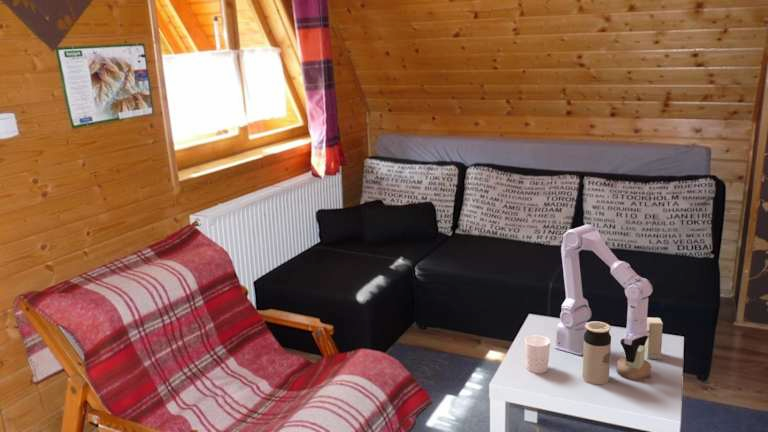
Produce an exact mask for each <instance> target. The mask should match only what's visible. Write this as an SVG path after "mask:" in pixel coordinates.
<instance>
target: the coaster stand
mask: <svg viewBox="0 0 768 432" xmlns="http://www.w3.org/2000/svg"><path fill="white" fill-rule="evenodd" d="M616 362H617V365H616V373H617V374H618V375H619V376H620V377H621V378H624V379H626V380H629V381H635V382H640V381H641V382H642V381H647V380H648V379H650V377H651V373H652V372H651V371H652V366H651V363H649V361H648V360H645V359H644V364H643V365H642V367H641V368H640V369H636V368H633V367H629V366H625V356H624V357H621V358H619V359H617V361H616Z"/></svg>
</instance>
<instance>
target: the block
mask: <svg viewBox="0 0 768 432" xmlns="http://www.w3.org/2000/svg"><path fill="white" fill-rule="evenodd" d="M624 357H625V366H629V367H633V368H636V369H640V368H641V367H642V365H643V364H644V360H645V357H646V354H645V346H642V345H640V346H639V347H638V349H637V352H636V357H635V360H634V362H633V363H631V362H628V361H626V356H624Z"/></svg>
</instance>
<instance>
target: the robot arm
mask: <svg viewBox="0 0 768 432" xmlns="http://www.w3.org/2000/svg"><path fill="white" fill-rule="evenodd" d="M561 243H562V244H561V247H560V253H561V261H562V270H563V281H564V290H565V291H564V292H565V300H564V301H563V302H562V304H561V312H560V314H559V317H560V322H559V323H558V324H557V326H556V333H555V335H556V337H555V338H556V339H555V347H554V348H555V349H557V350H560V351H563V352H566V353H570V354H574V355H578V356H583V349H584V333H585V332H586V327H585V325H586V324H587V323H588V321H590V319H591V318H592V309H591V308H590V307H589V306H590V305H589V300H587V299H586V298H584V295H583V287H582V275H581V267H580V255H579V253H580V252H581V251H591V252H593V253H594V254H595V255H596V256H597V257H599V258H600V259H601V261H603V262H604V263H605V264H606V265H607V266H608V267H609V269H610V275H611V276H612V277H614V279H615V280H616V281H617V282H618V283H619V284H620V285H621V287H622V288H624V294H625V297H626V298H627V315H626V328H625V337H624V338H621V339H620V344H621V347H622V348H623V351H624V355H625V356H626V361H628V362H631V363H633V362H634V360H635V357H636V352H637V349H638V347H639V346H640V345H642V346H645V343H646V341H647V338H648V337H649V335H650V334H651V332H650V331H647V317H648V308H649V296H651V294H652V293H653V291H654V290H653V285H652V284H651V282H650V281H649V279H647V278H645V277H642V276H640V275H639V274H637V273H636V271H635V270H634V269H633V268H632V267H631V265H630V264H629V262H627V261H623V260H619V259H618V258H617V256H616V255H615V254H614V253H613V251H612V250H611V249H610V248H609V247H608V246H607V244H606V243H605V242H604V240H603V239H602V238H601V234H600V232H599V231H598V230H597V229H596V228H595V226H594V225H592V224H589V223H586V224H584V225H581V226H578V227H575V228H571V229H568V230H566V232H564V233H563V234H562V242H561ZM625 356H624V357H625Z"/></svg>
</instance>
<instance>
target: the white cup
mask: <svg viewBox="0 0 768 432" xmlns="http://www.w3.org/2000/svg"><path fill="white" fill-rule="evenodd" d="M524 345H525V346H524V347H525V363H526V370H527V371H529V372H530V373H533V374H543V373H546V372H547V371H548V365H549V359H550V347H551V340H550V339H549V338H548V337H546V336H543V335H536V334H535V335H529V336H526V338H525V339H524Z"/></svg>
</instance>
